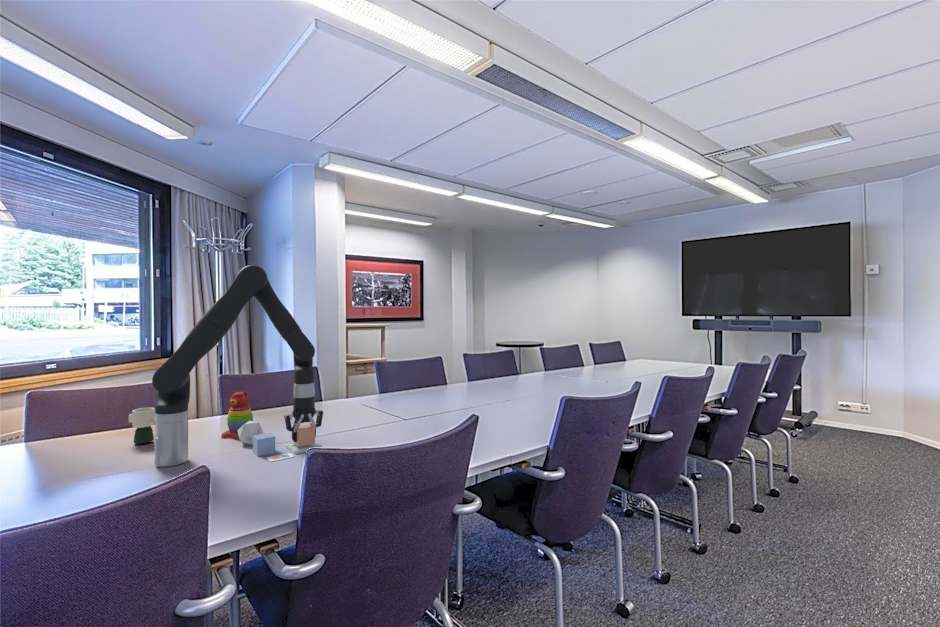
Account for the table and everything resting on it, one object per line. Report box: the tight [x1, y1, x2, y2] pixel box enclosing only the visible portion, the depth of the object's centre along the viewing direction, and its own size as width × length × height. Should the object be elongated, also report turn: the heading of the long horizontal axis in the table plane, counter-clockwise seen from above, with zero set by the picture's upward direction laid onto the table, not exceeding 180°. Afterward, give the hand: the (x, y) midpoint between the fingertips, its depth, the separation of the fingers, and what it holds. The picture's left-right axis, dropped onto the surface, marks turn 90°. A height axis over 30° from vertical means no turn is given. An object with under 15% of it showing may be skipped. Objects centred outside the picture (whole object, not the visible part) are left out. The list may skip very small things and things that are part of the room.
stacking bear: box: [221, 391, 254, 440], centre depth 182 cm, size 11×10×18 cm
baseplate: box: [285, 441, 323, 455], centre depth 166 cm, size 10×10×1 cm
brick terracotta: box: [292, 423, 316, 447], centre depth 166 cm, size 6×6×6 cm
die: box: [237, 420, 264, 446], centre depth 172 cm, size 8×9×10 cm
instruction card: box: [266, 452, 296, 463], centre depth 156 cm, size 8×5×1 cm, turn 129°
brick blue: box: [252, 432, 276, 457], centre depth 161 cm, size 6×6×6 cm
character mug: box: [128, 406, 155, 445], centre depth 171 cm, size 11×7×13 cm, turn 94°
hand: (304, 439), depth 166 cm, fingers closed on brick terracotta, 5 cm apart
